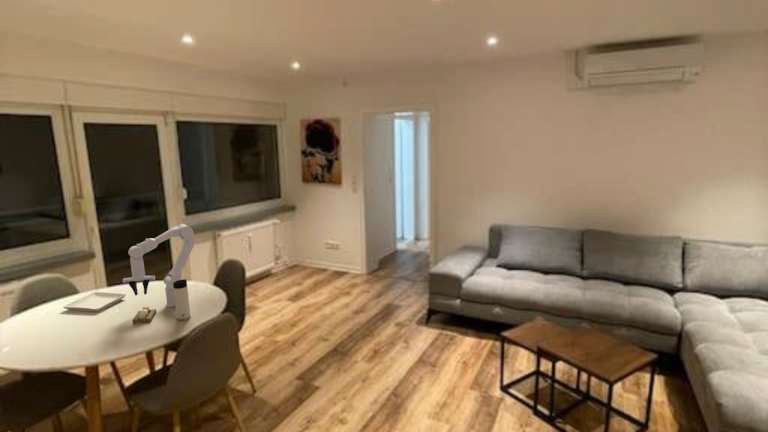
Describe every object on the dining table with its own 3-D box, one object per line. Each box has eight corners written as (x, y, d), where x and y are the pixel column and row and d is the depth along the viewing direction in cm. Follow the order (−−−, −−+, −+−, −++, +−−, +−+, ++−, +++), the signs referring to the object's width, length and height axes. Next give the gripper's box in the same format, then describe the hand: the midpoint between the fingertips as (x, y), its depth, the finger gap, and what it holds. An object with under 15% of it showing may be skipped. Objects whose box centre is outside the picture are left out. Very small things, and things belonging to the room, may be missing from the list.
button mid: (148, 314, 218) (147, 308, 217) (147, 316, 215) (146, 311, 214) (142, 315, 217) (141, 309, 216) (140, 317, 214) (139, 312, 214)
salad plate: (98, 314, 223) (97, 308, 222) (62, 312, 226) (61, 306, 225) (128, 299, 243) (127, 293, 242) (95, 297, 246) (94, 291, 246)
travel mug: (185, 321, 212) (181, 282, 208) (174, 320, 213) (169, 281, 210) (193, 316, 218) (189, 278, 214) (182, 315, 219) (178, 277, 216)
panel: (156, 312, 223) (155, 309, 223) (150, 322, 212) (150, 318, 211) (139, 314, 221) (138, 310, 220) (132, 324, 209) (132, 320, 209)
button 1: (146, 317, 214) (146, 311, 214) (145, 319, 211) (144, 314, 211) (140, 318, 213) (139, 312, 213) (138, 320, 210) (137, 315, 210)
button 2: (150, 311, 221) (149, 306, 221) (149, 313, 218) (148, 308, 218) (143, 312, 220) (143, 306, 220) (142, 314, 218) (141, 309, 217)
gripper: (155, 265, 226) (158, 290, 229) (124, 268, 222) (127, 293, 225) (152, 269, 220) (155, 294, 222) (120, 272, 216) (123, 298, 218)
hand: (141, 294), depth 223 cm, fingers open, 4 cm apart
